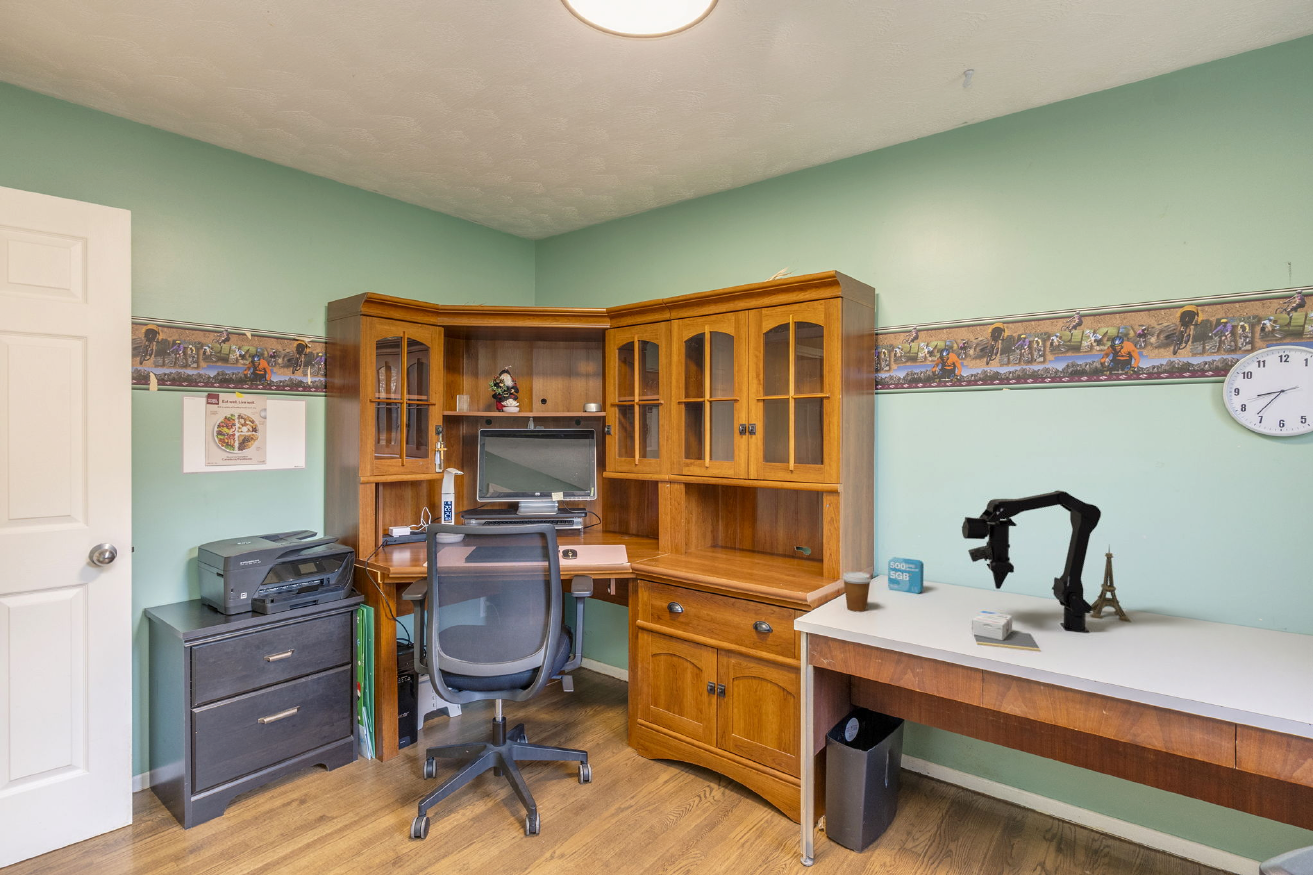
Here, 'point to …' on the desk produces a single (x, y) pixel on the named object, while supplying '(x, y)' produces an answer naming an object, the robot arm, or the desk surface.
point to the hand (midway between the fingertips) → (997, 588)
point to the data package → (905, 575)
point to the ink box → (992, 625)
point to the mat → (1010, 641)
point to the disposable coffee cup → (856, 590)
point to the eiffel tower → (1102, 598)
